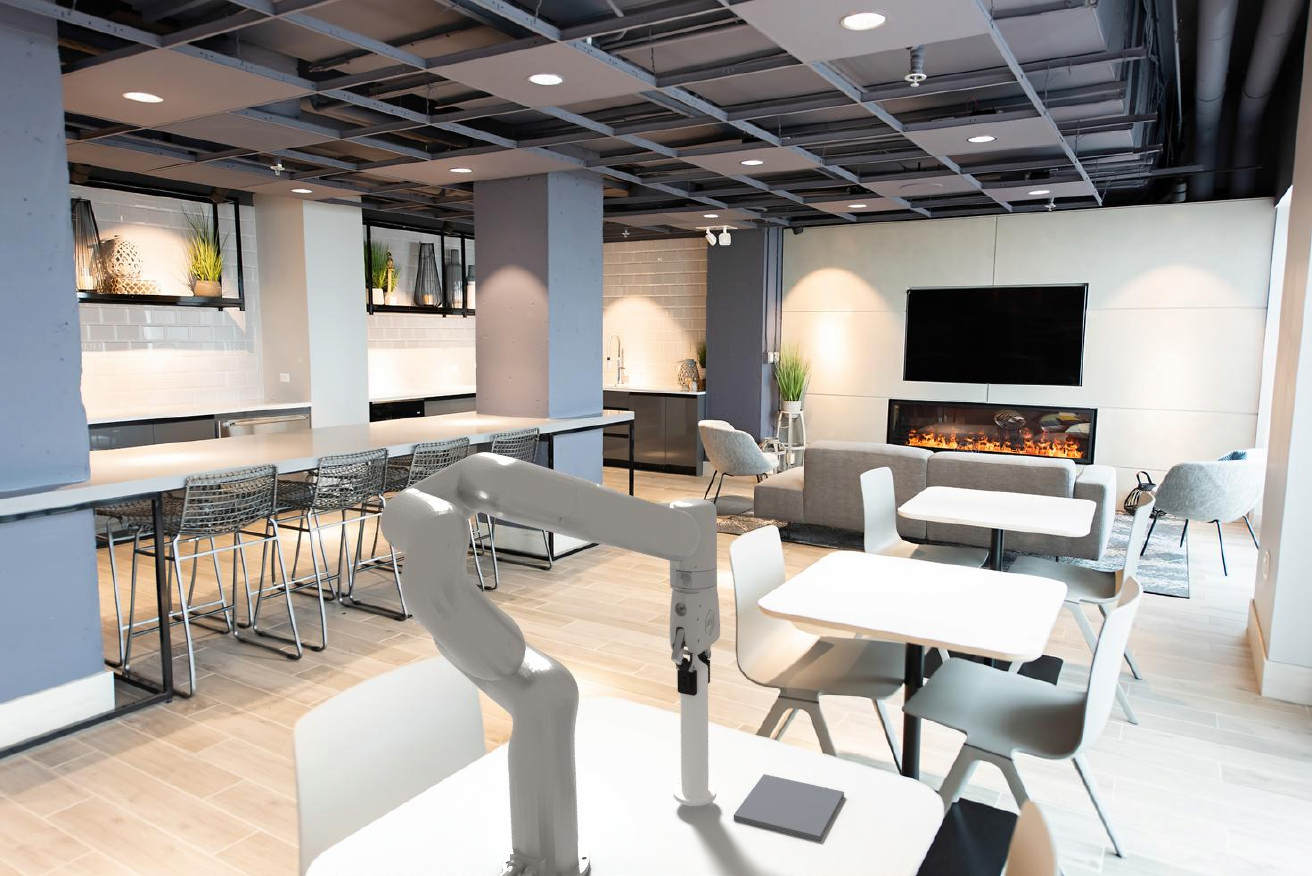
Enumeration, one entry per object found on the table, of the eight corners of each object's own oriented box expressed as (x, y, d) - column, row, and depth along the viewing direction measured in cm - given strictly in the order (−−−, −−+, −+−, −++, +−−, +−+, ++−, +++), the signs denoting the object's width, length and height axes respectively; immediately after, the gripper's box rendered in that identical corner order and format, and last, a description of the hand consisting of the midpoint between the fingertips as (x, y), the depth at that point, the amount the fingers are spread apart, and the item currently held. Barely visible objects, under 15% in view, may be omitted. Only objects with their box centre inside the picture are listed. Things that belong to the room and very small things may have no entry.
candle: (713, 808, 136) (712, 656, 133) (669, 804, 137) (668, 653, 134) (718, 786, 143) (718, 640, 140) (677, 782, 144) (676, 638, 141)
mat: (819, 841, 129) (819, 836, 129) (733, 819, 135) (733, 814, 135) (844, 796, 142) (844, 791, 141) (763, 778, 148) (763, 774, 148)
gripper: (692, 594, 127) (693, 712, 129) (735, 567, 142) (735, 673, 144) (648, 588, 130) (649, 703, 132) (693, 562, 145) (694, 666, 147)
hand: (694, 686), depth 138 cm, fingers closed on candle, 4 cm apart
